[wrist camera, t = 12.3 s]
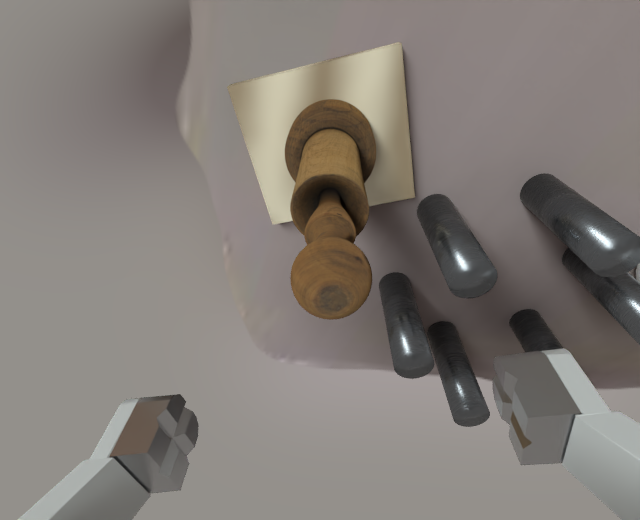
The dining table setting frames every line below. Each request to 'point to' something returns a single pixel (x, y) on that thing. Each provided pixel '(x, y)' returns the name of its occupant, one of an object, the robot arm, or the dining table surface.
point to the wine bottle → (638, 272)
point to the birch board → (321, 84)
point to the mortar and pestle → (330, 206)
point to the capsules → (480, 276)
